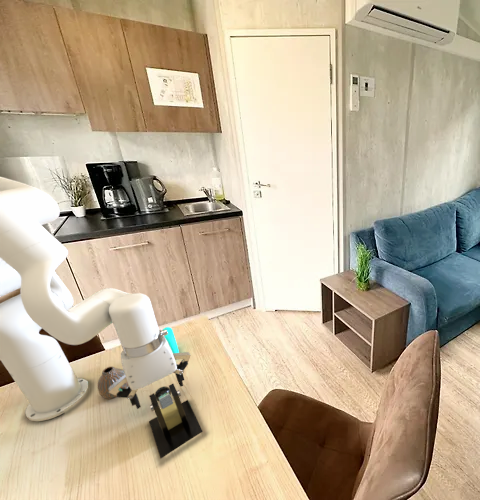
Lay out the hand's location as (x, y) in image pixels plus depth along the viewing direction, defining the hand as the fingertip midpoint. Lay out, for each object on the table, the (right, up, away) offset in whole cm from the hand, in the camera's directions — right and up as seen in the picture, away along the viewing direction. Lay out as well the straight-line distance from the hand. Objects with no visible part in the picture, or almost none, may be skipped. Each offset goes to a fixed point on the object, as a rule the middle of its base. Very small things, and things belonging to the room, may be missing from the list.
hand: (160, 393), depth 74 cm
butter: (+5, -5, -3) cm, 8 cm away
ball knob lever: (+4, -1, -4) cm, 6 cm away
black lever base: (+7, -7, -4) cm, 10 cm away
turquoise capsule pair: (-11, +2, +17) cm, 21 cm away
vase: (-16, -3, +6) cm, 17 cm away
